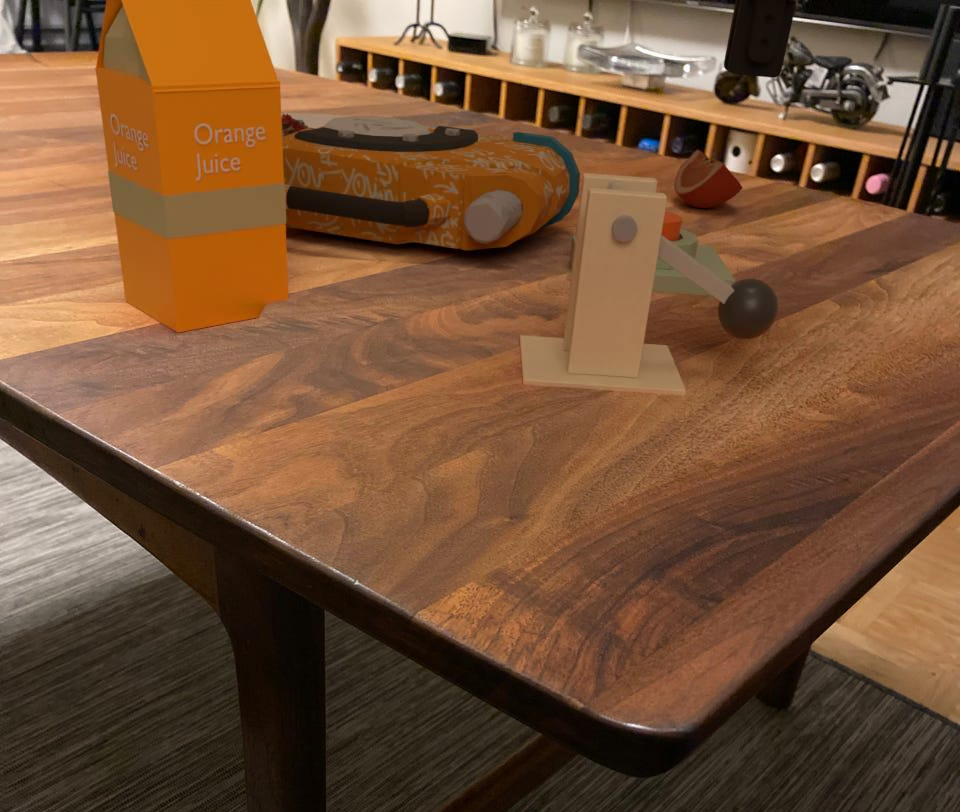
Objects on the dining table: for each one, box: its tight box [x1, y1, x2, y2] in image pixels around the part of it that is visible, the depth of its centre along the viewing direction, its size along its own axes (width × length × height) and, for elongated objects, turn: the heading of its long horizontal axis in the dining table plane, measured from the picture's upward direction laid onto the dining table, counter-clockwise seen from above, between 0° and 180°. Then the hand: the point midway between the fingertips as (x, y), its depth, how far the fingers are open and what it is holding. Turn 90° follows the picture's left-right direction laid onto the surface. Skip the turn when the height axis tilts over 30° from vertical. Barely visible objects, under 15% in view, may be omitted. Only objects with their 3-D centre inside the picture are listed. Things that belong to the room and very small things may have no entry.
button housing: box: [569, 228, 736, 297], centre depth 84 cm, size 12×10×4 cm
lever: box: [606, 182, 779, 340], centre depth 62 cm, size 13×4×4 cm, turn 90°
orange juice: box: [94, 0, 289, 333], centre depth 67 cm, size 8×9×20 cm
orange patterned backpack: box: [282, 115, 581, 251], centre depth 90 cm, size 23×8×30 cm
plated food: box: [281, 112, 349, 137], centre depth 117 cm, size 30×30×3 cm
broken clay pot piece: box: [673, 149, 743, 209], centre depth 108 cm, size 8×7×5 cm
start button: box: [661, 210, 683, 241], centre depth 82 cm, size 4×4×2 cm
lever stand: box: [519, 172, 687, 396], centre depth 63 cm, size 10×8×12 cm
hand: (751, 73), depth 63 cm, fingers closed
